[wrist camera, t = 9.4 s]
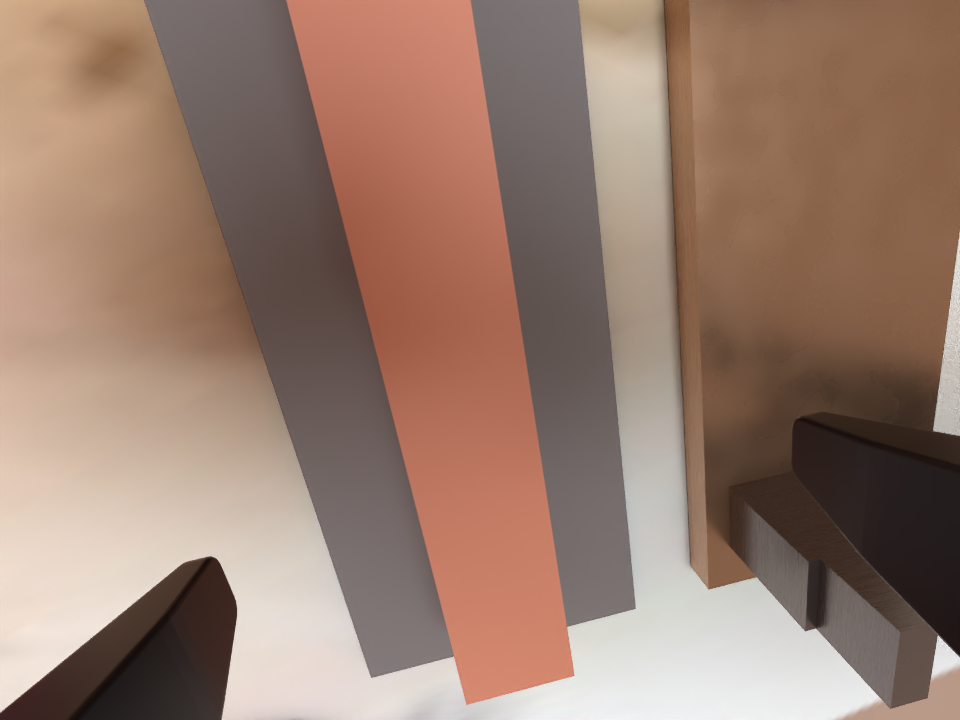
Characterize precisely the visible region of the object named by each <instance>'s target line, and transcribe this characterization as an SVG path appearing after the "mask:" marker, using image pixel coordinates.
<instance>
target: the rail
mask: <svg viewBox="0 0 960 720" xmlns="http://www.w3.org/2000/svg"><path fill="white" fill-rule="evenodd" d="M286 1H287V5H288V9H289V13H290V17H291V20H292V24H293V28H294V32H295V36H296V40H297V44H298V48H299V52H300V56H301V60H302V63H303V67H304V71H305V75H306V79H307V83H308V87H309V91H310V95H311V99H312V103H313V106H314V110H315V114H316V118H317V122H318V126H319V130H320V134H321V138H322V142H323V146H324V149H325V153H326V157H327V161H328V165H329V169H330V173H331V177H332V181H333V185H334V189H335V192H336V196H337V200H338V204H339V208H340V212H341V216H342V220H343V224H344V228H345V232H346V235H347V239H348V243H349V247H350V251H351V255H352V259H353V263H354V267H355V271H356V275H357V279H358V282H359V286H360V290H361V294H362V298H363V302H364V306H365V310H366V314H367V318H368V322H369V325H370V329H371V333H372V337H373V341H374V345H375V349H376V353H377V357H378V361H379V365H380V368H381V372H382V376H383V380H384V384H385V388H386V392H387V396H388V400H389V404H390V408H391V411H392V415H393V419H394V423H395V427H396V431H397V435H398V439H399V443H400V447H401V451H402V454H403V458H404V462H405V466H406V470H407V474H408V478H409V482H410V486H411V490H412V494H413V497H414V501H415V505H416V509H417V513H418V517H419V521H420V525H421V529H422V533H423V537H424V540H425V544H426V548H427V552H428V556H429V560H430V564H431V568H432V572H433V576H434V580H435V583H436V587H437V591H438V595H439V599H440V603H441V607H442V611H443V615H444V619H445V623H446V626H447V630H448V634H449V638H450V642H451V646H452V650H453V654H454V658H455V662H456V666H457V669H458V673H459V677H460V681H461V685H462V689H463V693H464V697H465V701H466V705H468V704H471V703H475V702H479V701H482V700H486V699H490V698H494V697H497V696H501V695H505V694H508V693H512V692H516V691H520V690H523V689H527V688H531V687H534V686H538V685H542V684H546V683H549V682H553V681H557V680H561V679H564V678H568V677H572V676H574V670H573V663H572V657H571V650H570V644H569V637H568V631H567V624H566V618H565V611H564V605H563V598H562V592H561V585H560V579H559V572H558V566H557V559H556V553H555V546H554V540H553V533H552V527H551V520H550V514H549V507H548V501H547V494H546V488H545V481H544V475H543V468H542V462H541V455H540V449H539V442H538V436H537V429H536V423H535V416H534V410H533V403H532V397H531V390H530V384H529V377H528V371H527V364H526V358H525V351H524V345H523V338H522V332H521V325H520V319H519V312H518V306H517V299H516V293H515V286H514V280H513V273H512V267H511V260H510V254H509V247H508V241H507V234H506V228H505V221H504V215H503V208H502V201H501V195H500V188H499V182H498V175H497V169H496V162H495V156H494V149H493V143H492V136H491V130H490V123H489V117H488V110H487V104H486V97H485V91H484V84H483V78H482V71H481V65H480V58H479V52H478V45H477V39H476V32H475V26H474V19H473V13H472V6H471V0H286Z"/></svg>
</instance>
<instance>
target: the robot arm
mask: <svg viewBox="0 0 960 720" xmlns="http://www.w3.org/2000/svg"><path fill="white" fill-rule="evenodd" d="M791 465H792V469H793V472H794V474H795V476H796V477H797V479H798V480H799V481H800V483H801V484H802V485H803V486H804V487H805V489H806V490H807V491H808V492H809V494H810V495H811V496H812V497H813V498H814V500H815V501H816V502H817V503H818V505H819V506H820V507H821V508H822V509H823V511H824V512H825V513H826V514H827V516H828V517H829V518H830V519H831V521H832V522H833V523H834V524H835V525H836V527H837V528H838V529H839V530H840V532H841V533H842V534H843V535H844V536H845V538H846V539H847V540H848V541H849V543H850V544H851V545H852V546H853V547H854V548H855V550H856V551H857V552H858V553H859V554H860V555H861V556H862V558H863V559H864V560H865V561H866V562H867V563H868V564H869V565H870V566H871V567H872V568H873V569H874V570H875V571H876V572H877V573H878V574H879V575H880V576H881V577H882V578H883V579H884V581H885V582H886V583H887V584H888V585H889V586H890V587H891V588H892V589H893V590H894V591H895V592H896V593H897V594H898V595H899V596H900V597H901V598H902V599H903V600H904V601H905V602H906V603H907V604H908V605H909V606H910V607H911V608H912V609H913V610H914V611H915V612H916V613H917V614H918V615H919V616H920V617H921V618H922V619H923V620H924V621H925V622H926V623H927V624H928V625H929V626H930V627H931V628H932V629H933V630H934V631H935V632H936V633H937V635H938V636H939V637H940V638H941V639H942V640H943V641H944V642H945V643H946V644H947V645H948V646H949V647H950V648H951V649H952V650H953V651H954V652H955V653H956V654H957V655H958V656H959V657H960V436H957V435H951V434H946V433H940V432H935V431H929V430H923V429H918V428H912V427H907V426H901V425H896V424H890V423H884V422H879V421H873V420H868V419H862V418H857V417H851V416H845V415H840V414H834V413H829V412H815V413H811V414H807V415H803V416H799V417H797V418H796V419H795V420H794V422H793V425H792V448H791ZM236 619H237V604H236V600H235V597H234V595H233V592H232V590H231V588H230V585H229V583H228V581H227V578H226V576H225V574H224V571H223V569H222V567H221V564H220V563H219V561H218V560H217V559H216V558H214V557H211V556H210V557H205V558H201V559H196V560H192V561H188V562H185V563H183V564H182V565H180V566H179V567H178V568H177V569H175V570H174V571H173V572H172V573H171V574H169V575H168V576H167V577H166V578H164V579H163V580H162V581H161V582H160V583H158V584H157V585H156V586H155V587H153V588H152V589H151V590H150V591H149V592H147V593H146V594H145V595H144V596H142V597H141V598H140V599H139V600H138V601H136V602H135V603H134V604H133V605H131V606H130V607H129V608H128V609H127V610H125V611H124V612H123V613H122V614H120V615H119V616H118V617H117V618H116V619H114V620H113V621H112V622H111V623H109V624H108V625H107V626H106V627H104V628H103V629H102V630H101V631H100V632H98V633H97V634H96V635H95V636H93V637H92V638H91V639H90V640H89V641H87V642H86V643H85V644H84V645H82V646H81V647H80V648H79V649H78V650H76V651H75V652H74V653H73V654H71V655H70V656H69V657H68V658H67V659H65V660H64V661H63V662H62V663H60V664H59V665H58V666H57V667H56V668H54V669H53V670H52V671H51V672H49V673H48V674H47V675H46V676H45V677H43V678H42V679H41V680H40V681H38V682H37V683H36V684H35V685H34V686H32V687H31V688H30V689H29V690H27V691H26V692H25V693H24V694H23V695H21V696H20V697H19V698H18V699H16V700H15V701H14V702H13V703H12V704H10V705H9V706H8V707H7V708H5V709H4V710H3V711H2V712H1V713H0V720H221V719H222V714H223V708H224V702H225V695H226V688H227V681H228V674H229V667H230V661H231V654H232V647H233V640H234V633H235V626H236Z"/></svg>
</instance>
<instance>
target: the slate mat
mask: <svg viewBox="0 0 960 720" xmlns="http://www.w3.org/2000/svg"><path fill="white" fill-rule="evenodd" d="M144 1H145V4H146V7H147V10H148V13H149V16H150V19H151V22H152V25H153V28H154V31H155V34H156V37H157V40H158V43H159V46H160V49H161V52H162V55H163V58H164V61H165V64H166V66H167V69H168V72H169V75H170V78H171V81H172V84H173V87H174V90H175V93H176V96H177V99H178V102H179V105H180V108H181V111H182V114H183V117H184V120H185V123H186V126H187V129H188V132H189V135H190V138H191V141H192V144H193V147H194V150H195V153H196V156H197V159H198V162H199V165H200V168H201V171H202V174H203V177H204V180H205V183H206V186H207V189H208V192H209V195H210V198H211V201H212V204H213V207H214V210H215V213H216V216H217V219H218V222H219V225H220V228H221V231H222V234H223V237H224V240H225V243H226V246H227V249H228V252H229V255H230V258H231V261H232V264H233V267H234V270H235V273H236V276H237V279H238V281H239V284H240V287H241V290H242V293H243V296H244V299H245V302H246V305H247V308H248V311H249V314H250V317H251V320H252V323H253V326H254V329H255V332H256V335H257V338H258V341H259V344H260V347H261V350H262V353H263V356H264V359H265V362H266V365H267V368H268V371H269V374H270V377H271V380H272V383H273V386H274V389H275V392H276V395H277V398H278V401H279V404H280V407H281V410H282V413H283V416H284V419H285V422H286V425H287V428H288V431H289V434H290V437H291V440H292V443H293V446H294V449H295V452H296V455H297V458H298V461H299V464H300V467H301V470H302V473H303V476H304V479H305V482H306V485H307V488H308V491H309V494H310V496H311V499H312V502H313V505H314V508H315V511H316V514H317V517H318V520H319V523H320V526H321V529H322V532H323V535H324V538H325V541H326V544H327V547H328V550H329V553H330V556H331V559H332V562H333V565H334V568H335V571H336V574H337V577H338V580H339V583H340V586H341V589H342V592H343V595H344V598H345V601H346V604H347V607H348V610H349V613H350V616H351V619H352V622H353V625H354V628H355V631H356V634H357V637H358V640H359V643H360V646H361V649H362V652H363V655H364V658H365V661H366V664H367V667H368V670H369V673H370V676H371V678H373V677H376V676H380V675H384V674H388V673H392V672H396V671H399V670H403V669H407V668H411V667H415V666H419V665H422V664H426V663H430V662H434V661H438V660H441V659H445V658H449V657H453V656H454V654H453V650H452V646H451V642H450V638H449V634H448V630H447V626H446V623H445V619H444V615H443V611H442V607H441V603H440V599H439V595H438V591H437V587H436V583H435V580H434V576H433V572H432V568H431V564H430V560H429V556H428V552H427V548H426V544H425V540H424V537H423V533H422V529H421V525H420V521H419V517H418V513H417V509H416V505H415V501H414V497H413V494H412V490H411V486H410V482H409V478H408V474H407V470H406V466H405V462H404V458H403V454H402V451H401V447H400V443H399V439H398V435H397V431H396V427H395V423H394V419H393V415H392V411H391V408H390V404H389V400H388V396H387V392H386V388H385V384H384V380H383V376H382V372H381V368H380V365H379V361H378V357H377V353H376V349H375V345H374V341H373V337H372V333H371V329H370V325H369V322H368V318H367V314H366V310H365V306H364V302H363V298H362V294H361V290H360V286H359V282H358V279H357V275H356V271H355V267H354V263H353V259H352V255H351V251H350V247H349V243H348V239H347V235H346V232H345V228H344V224H343V220H342V216H341V212H340V208H339V204H338V200H337V196H336V192H335V189H334V185H333V181H332V177H331V173H330V169H329V165H328V161H327V157H326V153H325V149H324V146H323V142H322V138H321V134H320V130H319V126H318V122H317V118H316V114H315V110H314V106H313V103H312V99H311V95H310V91H309V87H308V83H307V79H306V75H305V71H304V67H303V63H302V60H301V56H300V52H299V48H298V44H297V40H296V36H295V32H294V28H293V24H292V20H291V17H290V13H289V9H288V5H287V1H286V0H144ZM471 6H472V13H473V19H474V26H475V32H476V39H477V45H478V52H479V58H480V65H481V71H482V78H483V84H484V91H485V97H486V104H487V110H488V117H489V123H490V130H491V136H492V143H493V149H494V156H495V162H496V169H497V175H498V182H499V188H500V195H501V201H502V208H503V215H504V221H505V228H506V234H507V241H508V247H509V254H510V260H511V267H512V273H513V280H514V286H515V293H516V299H517V306H518V312H519V319H520V325H521V332H522V338H523V345H524V351H525V358H526V364H527V371H528V377H529V384H530V390H531V397H532V403H533V410H534V416H535V423H536V429H537V436H538V442H539V449H540V455H541V462H542V468H543V475H544V481H545V488H546V494H547V501H548V507H549V514H550V520H551V527H552V533H553V540H554V546H555V553H556V559H557V566H558V572H559V579H560V585H561V592H562V598H563V605H564V611H565V618H566V624H567V627H568V626H572V625H575V624H579V623H583V622H587V621H591V620H594V619H598V618H602V617H606V616H610V615H614V614H617V613H621V612H625V611H629V610H633V609H636V607H635V597H634V586H633V576H632V565H631V555H630V544H629V533H628V523H627V512H626V502H625V491H624V480H623V470H622V459H621V449H620V438H619V428H618V417H617V406H616V396H615V385H614V375H613V364H612V353H611V343H610V332H609V322H608V311H607V301H606V290H605V279H604V269H603V258H602V248H601V237H600V226H599V216H598V205H597V195H596V184H595V174H594V163H593V152H592V142H591V131H590V121H589V110H588V100H587V89H586V78H585V68H584V57H583V47H582V36H581V25H580V15H579V4H578V0H471Z"/></svg>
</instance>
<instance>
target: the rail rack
mask: <svg viewBox="0 0 960 720" xmlns="http://www.w3.org/2000/svg"><path fill="white" fill-rule="evenodd" d="M665 21H666V42H667V64H668V85H669V107H670V128H671V149H672V171H673V192H674V214H675V235H676V257H677V278H678V300H679V321H680V343H681V364H682V385H683V407H684V428H685V450H686V471H687V493H688V514H689V536H690V557H691V567H692V568H693V569H694V571H695V572H696V573H697V575H698V576H699V577H700V579H701V580H702V581H703V583H704V584H705V585H706V587H707V588H708V589H712V588H716V587H720V586H724V585H728V584H731V583H735V582H739V581H743V580H747V579H751V578H754V577H757V578H758V579H759V580H760V581H761V582H762V583H763V584H764V586H765V587H766V588H767V589H768V590H769V591H770V592H771V593H772V595H773V596H774V597H775V598H776V599H777V600H778V601H779V602H780V604H781V605H782V606H783V607H784V608H785V609H786V610H787V611H788V612H789V614H790V615H791V616H792V617H793V618H794V619H795V620H796V621H797V623H798V624H799V625H800V626H801V627H802V628H803V629H804V630H805V631H808V630H812V629H815V628H816V629H817V630H818V631H819V632H820V633H821V634H822V635H823V636H824V637H825V639H826V640H827V641H828V642H829V643H830V644H831V645H832V646H833V647H834V648H835V649H836V650H837V652H838V653H839V654H840V655H841V656H842V657H843V658H844V659H845V660H846V661H847V662H848V663H849V665H850V666H851V667H852V668H853V669H854V670H855V671H856V672H857V673H858V674H859V675H860V676H861V678H862V679H863V680H864V681H865V682H866V683H867V684H868V685H869V686H870V687H871V688H872V689H873V691H874V692H875V693H876V694H877V695H878V696H879V697H880V698H881V699H882V700H883V701H884V702H885V703H886V704H887V706H888V707H889V708H890V709H891V708H895V707H898V706H901V705H905V704H908V703H912V702H915V701H919V700H922V699H926V698H928V692H929V686H930V680H931V673H932V667H933V661H934V655H935V649H936V642H937V636H938V635H937V633H936V632H935V631H934V630H933V629H932V628H931V627H930V626H929V625H928V624H927V623H926V622H925V621H924V620H923V619H922V618H921V617H920V616H919V615H918V614H917V613H916V612H915V611H914V610H913V609H912V608H911V607H910V606H909V605H908V604H907V603H906V602H905V601H904V600H903V599H902V598H901V597H900V596H899V595H898V594H897V593H896V592H895V591H894V590H893V589H892V588H891V587H890V586H889V585H888V584H887V583H886V582H885V581H884V579H883V578H882V577H881V576H880V575H879V574H878V573H877V572H876V571H875V570H874V569H873V568H872V567H871V566H870V565H869V564H868V563H867V562H866V561H865V560H864V559H863V558H862V556H861V555H860V554H859V553H858V552H857V551H856V550H855V548H854V547H853V546H852V545H851V544H850V543H849V541H848V540H847V539H846V538H845V536H844V535H843V534H842V533H841V532H840V530H839V529H838V528H837V527H836V525H835V524H834V523H833V522H832V521H831V519H830V518H829V517H828V516H827V514H826V513H825V512H824V511H823V509H822V508H821V507H820V506H819V505H818V503H817V502H816V501H815V500H814V498H813V497H812V496H811V495H810V494H809V492H808V491H807V490H806V489H805V487H804V486H803V485H802V484H801V483H800V481H799V480H798V479H797V477H796V476H795V474H794V472H793V469H792V465H791V448H792V425H793V422H794V420H795V419H796V418H797V417H799V416H803V415H807V414H811V413H815V412H829V413H834V414H840V415H845V416H851V417H857V418H862V419H868V420H873V421H879V422H884V423H890V424H896V425H901V426H907V427H912V428H918V429H923V430H929V431H933V426H934V418H935V411H936V403H937V396H938V388H939V381H940V374H941V366H942V359H943V351H944V344H945V336H946V329H947V321H948V314H949V306H950V299H951V291H952V284H953V277H954V269H955V262H956V254H957V247H958V239H959V232H960V0H665Z"/></svg>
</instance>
